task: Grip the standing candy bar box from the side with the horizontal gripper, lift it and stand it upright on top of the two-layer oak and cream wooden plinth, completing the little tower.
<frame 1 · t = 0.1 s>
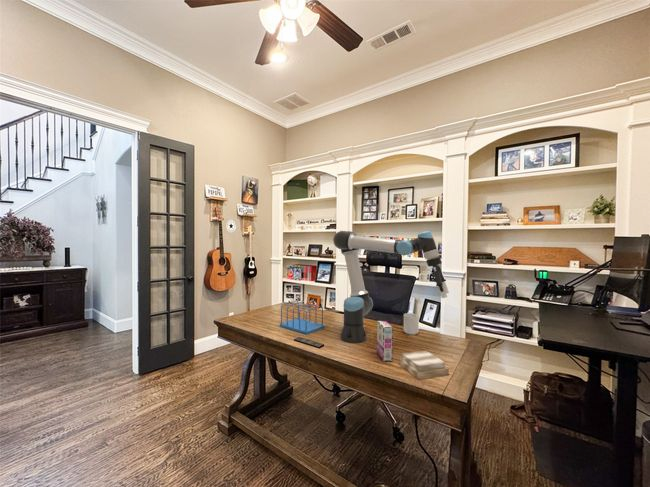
hand: (445, 295, 149), 28 cm above the table, tool tilted 20°, fingers open, 13 cm apart
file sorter: (301, 327, 181), on the table
plinth: (422, 369, 122), on the table
mug: (412, 332, 172), on the table
candy bar box: (384, 357, 135), on the table
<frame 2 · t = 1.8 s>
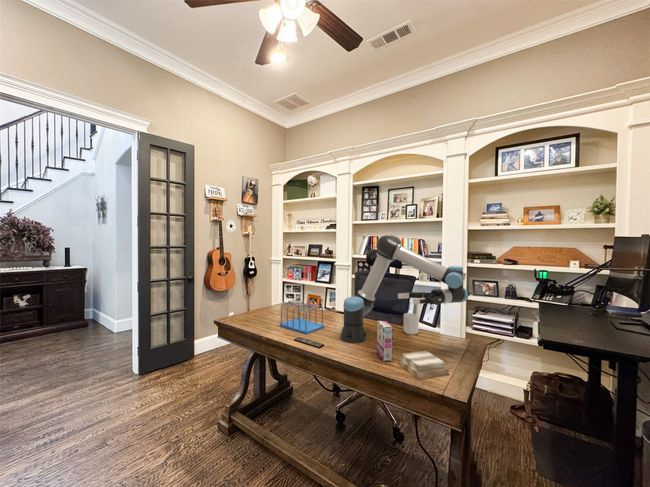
hand: (405, 298, 138), 28 cm above the table, tool horizontal, fingers open, 13 cm apart
nothing on the table moved.
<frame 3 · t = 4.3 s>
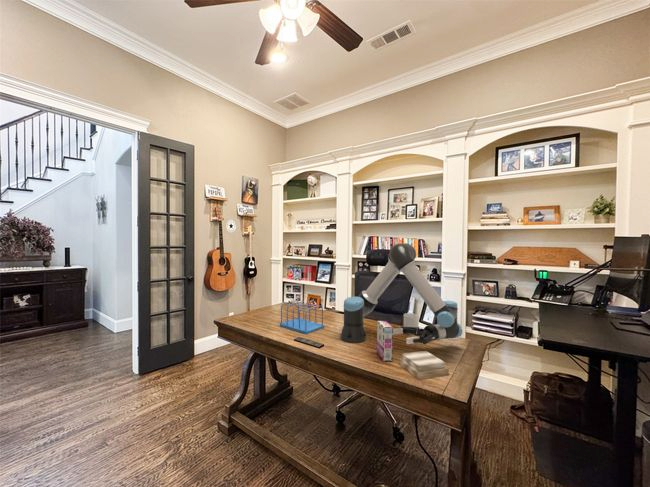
hand: (398, 336, 137), 9 cm above the table, tool horizontal, fingers open, 13 cm apart
nothing on the table moved.
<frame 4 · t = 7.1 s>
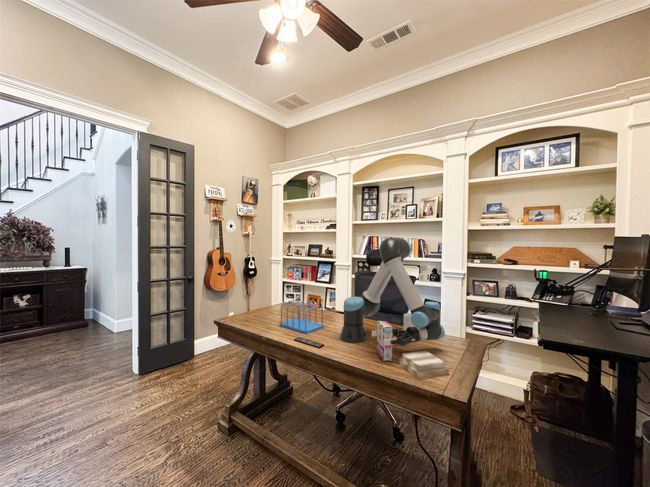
hand: (377, 338, 134), 10 cm above the table, tool horizontal, fingers closed on candy bar box, 12 cm apart
candy bar box: (384, 357, 135), on the table, touching gripper
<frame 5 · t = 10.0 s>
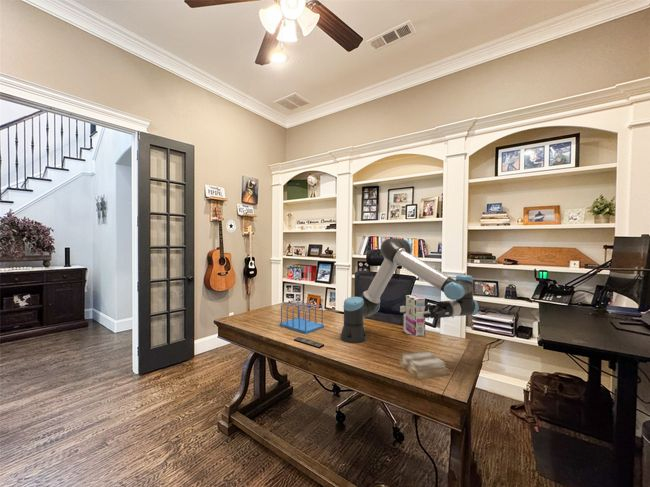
hand: (408, 312, 123), 25 cm above the table, tool horizontal, fingers closed on candy bar box, 12 cm apart
candy bar box: (415, 333, 124), point 15 cm above the table, touching gripper
when the fingers open (16 cm above the table, at t = 12.9 s): candy bar box drops 1 cm, resting on plinth.
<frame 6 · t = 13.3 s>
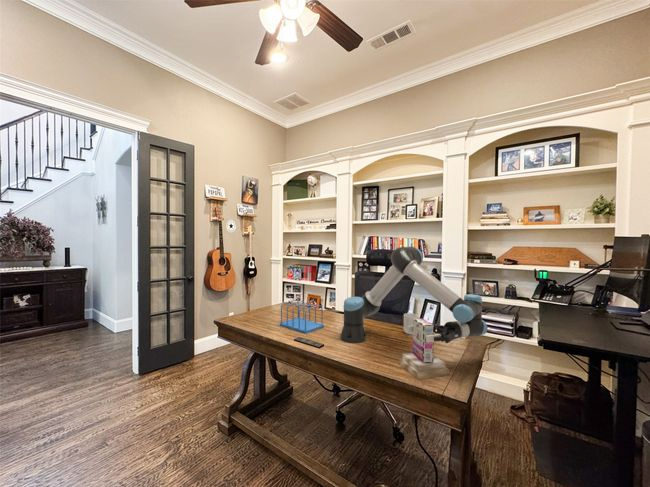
hand: (416, 333, 121), 16 cm above the table, tool horizontal, fingers open, 13 cm apart
candy bar box: (422, 358, 122), point 5 cm above the table, touching plinth
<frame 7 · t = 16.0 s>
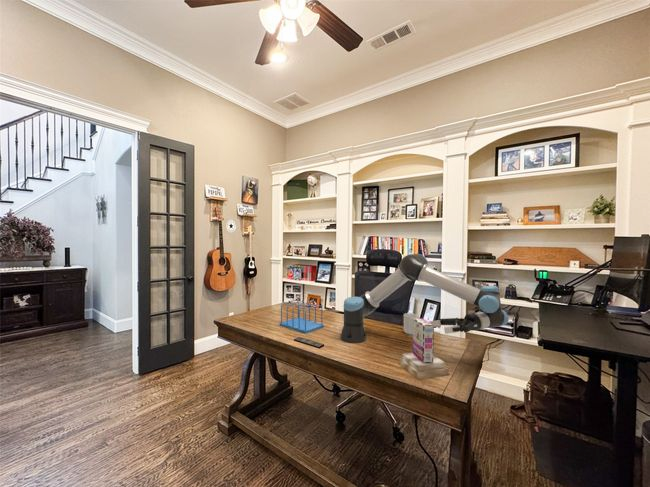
hand: (436, 327, 126), 17 cm above the table, tool horizontal, fingers open, 13 cm apart
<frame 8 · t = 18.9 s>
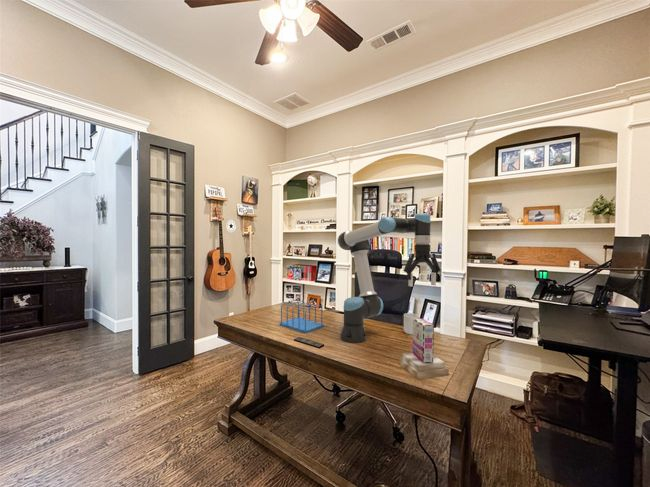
hand: (422, 285, 139), 35 cm above the table, tool pointing down, fingers open, 13 cm apart
at the end: candy bar box inside the target area on the plinth (0.1 cm from its centre), point 4.8 cm above the plinth's base; candy bar box tilted 0°; the gripper is holding nothing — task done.
